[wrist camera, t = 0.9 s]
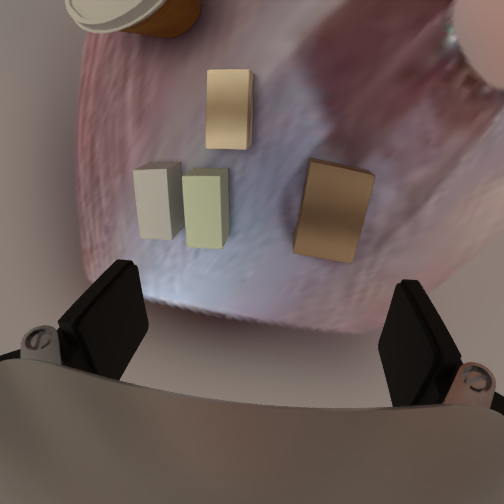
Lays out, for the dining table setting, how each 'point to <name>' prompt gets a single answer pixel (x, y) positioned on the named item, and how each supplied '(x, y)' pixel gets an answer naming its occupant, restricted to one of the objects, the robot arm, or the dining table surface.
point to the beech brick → (229, 109)
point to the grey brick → (159, 200)
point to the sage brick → (206, 207)
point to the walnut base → (332, 210)
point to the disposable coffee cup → (135, 16)
